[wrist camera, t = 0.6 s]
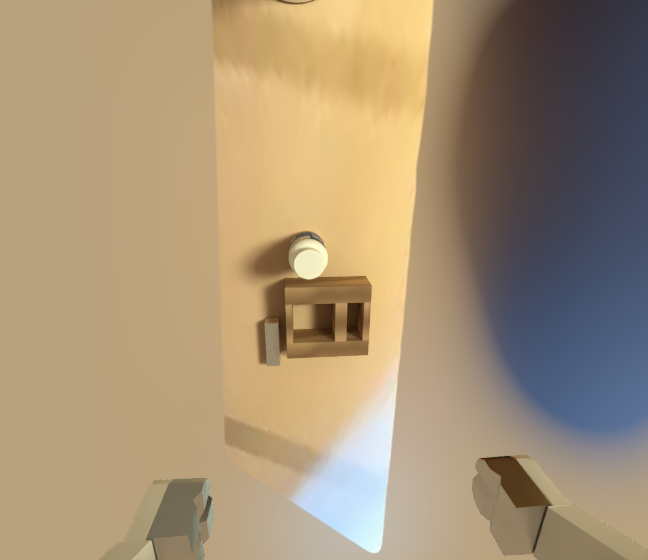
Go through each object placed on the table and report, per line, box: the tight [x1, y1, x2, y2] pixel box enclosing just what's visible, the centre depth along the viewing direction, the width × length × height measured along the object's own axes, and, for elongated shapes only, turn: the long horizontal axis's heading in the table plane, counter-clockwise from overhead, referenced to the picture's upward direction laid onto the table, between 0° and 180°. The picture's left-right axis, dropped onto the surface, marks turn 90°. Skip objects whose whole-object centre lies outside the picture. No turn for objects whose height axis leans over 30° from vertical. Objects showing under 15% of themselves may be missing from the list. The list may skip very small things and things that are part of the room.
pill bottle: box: [289, 231, 328, 279], centre depth 45 cm, size 5×5×10 cm
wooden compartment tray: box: [285, 276, 372, 358], centre depth 52 cm, size 12×13×4 cm
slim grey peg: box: [264, 318, 280, 366], centre depth 54 cm, size 8×2×2 cm, turn 179°
